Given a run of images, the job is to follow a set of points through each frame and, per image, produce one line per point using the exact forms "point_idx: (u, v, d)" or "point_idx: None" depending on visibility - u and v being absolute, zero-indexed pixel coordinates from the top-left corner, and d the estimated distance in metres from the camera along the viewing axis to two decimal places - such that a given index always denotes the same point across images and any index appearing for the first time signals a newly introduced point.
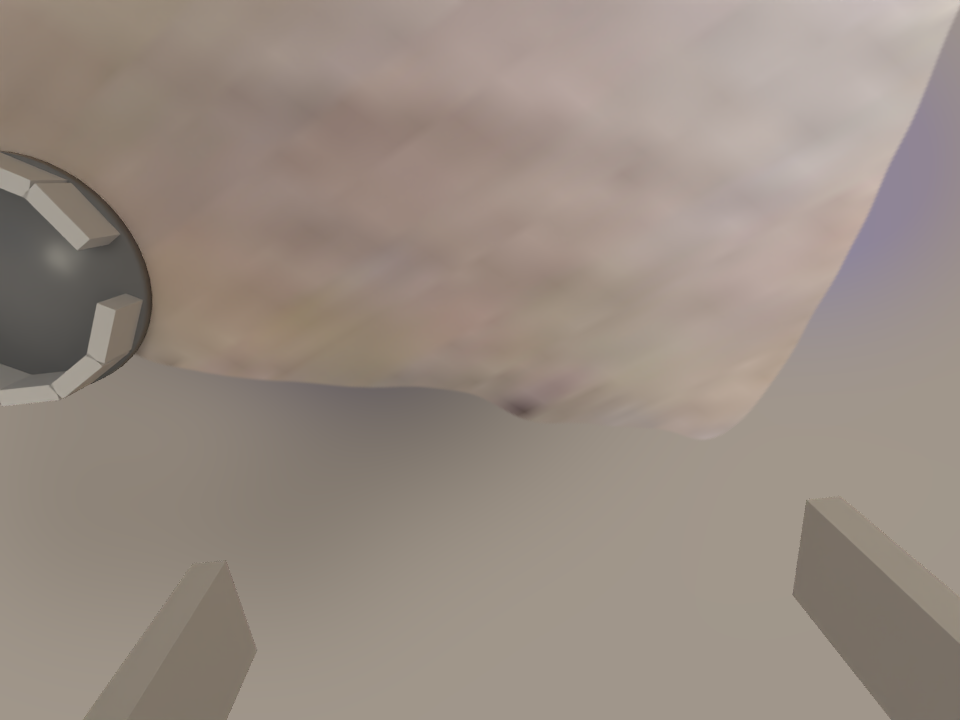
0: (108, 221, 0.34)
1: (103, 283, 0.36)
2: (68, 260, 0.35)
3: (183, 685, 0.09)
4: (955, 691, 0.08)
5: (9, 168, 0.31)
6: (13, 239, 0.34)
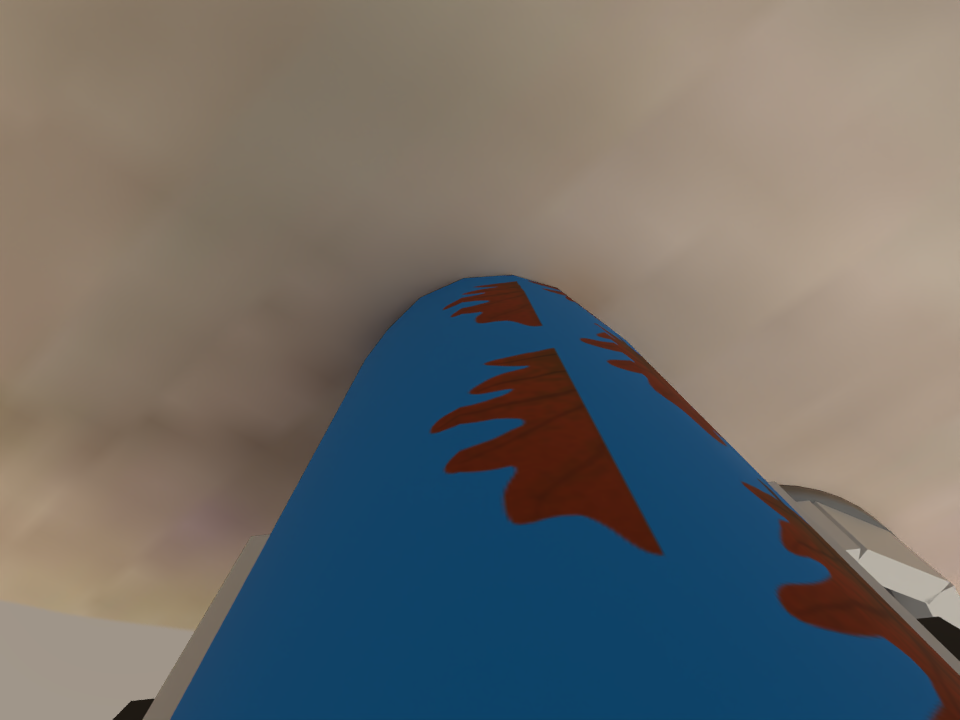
0: None
1: None
2: None
3: None
4: None
5: (905, 558, 0.20)
6: None
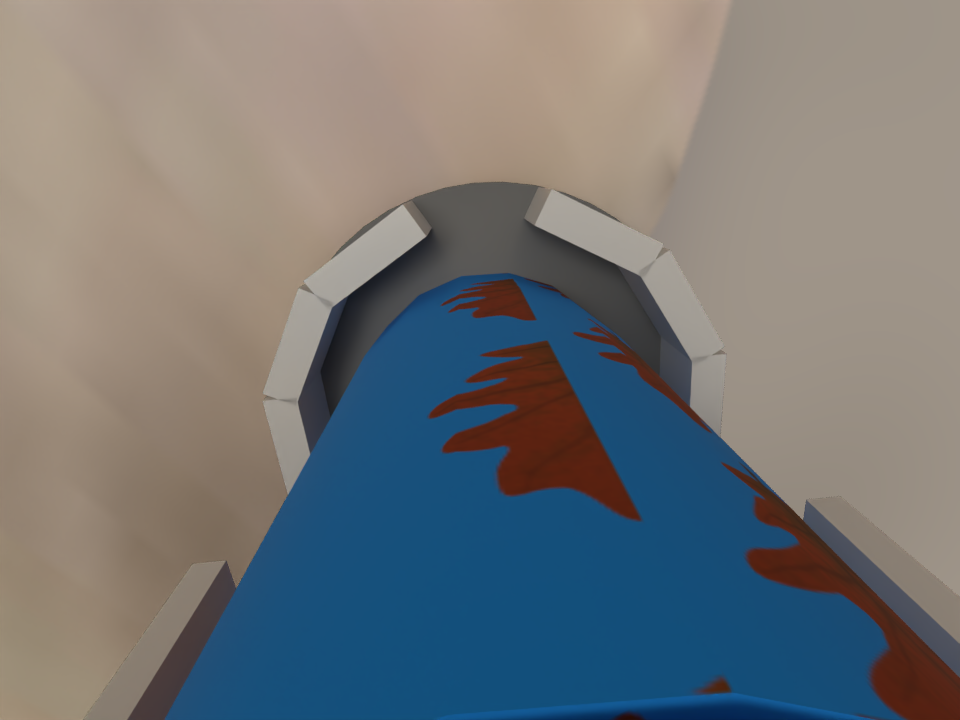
0: None
1: (504, 255, 0.19)
2: None
3: None
4: None
5: None
6: None
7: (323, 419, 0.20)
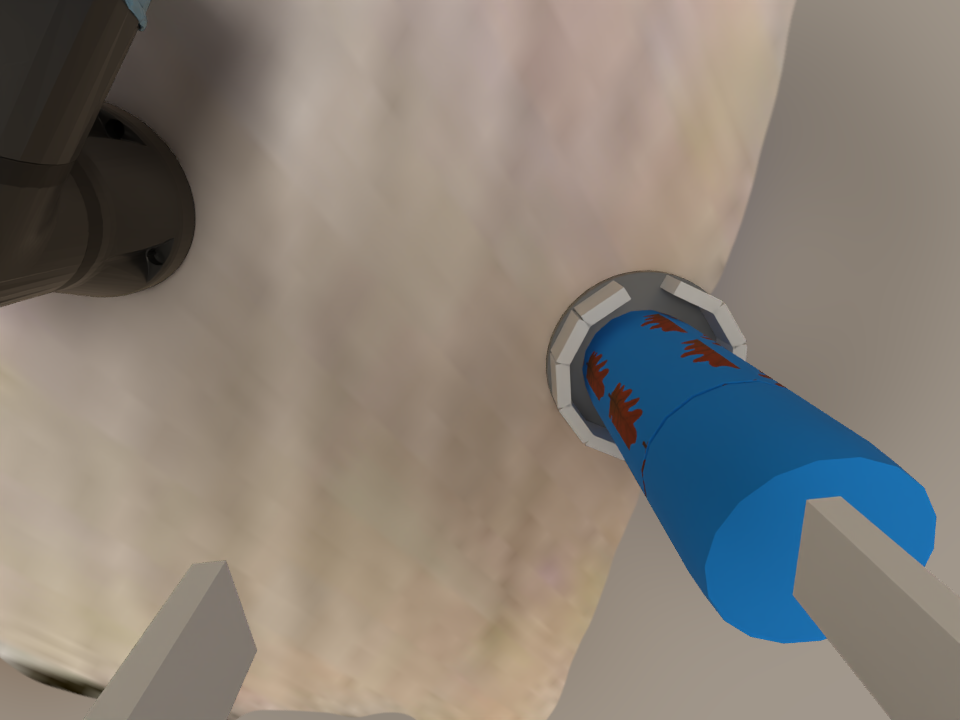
0: (603, 287, 0.44)
1: (650, 302, 0.44)
2: None
3: (183, 685, 0.09)
4: (954, 691, 0.08)
5: (568, 334, 0.42)
6: None
7: None
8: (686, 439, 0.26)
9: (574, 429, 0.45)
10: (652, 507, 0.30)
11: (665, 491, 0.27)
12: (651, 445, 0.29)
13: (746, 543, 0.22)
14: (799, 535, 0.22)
